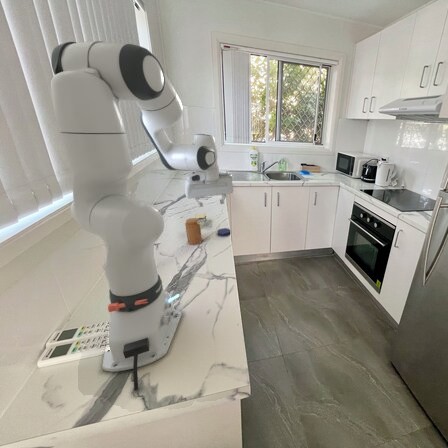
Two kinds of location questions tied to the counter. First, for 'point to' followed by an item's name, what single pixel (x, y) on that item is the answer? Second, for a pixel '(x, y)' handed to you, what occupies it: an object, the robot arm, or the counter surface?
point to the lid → (224, 232)
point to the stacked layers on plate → (203, 220)
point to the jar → (193, 231)
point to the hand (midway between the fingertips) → (211, 205)
